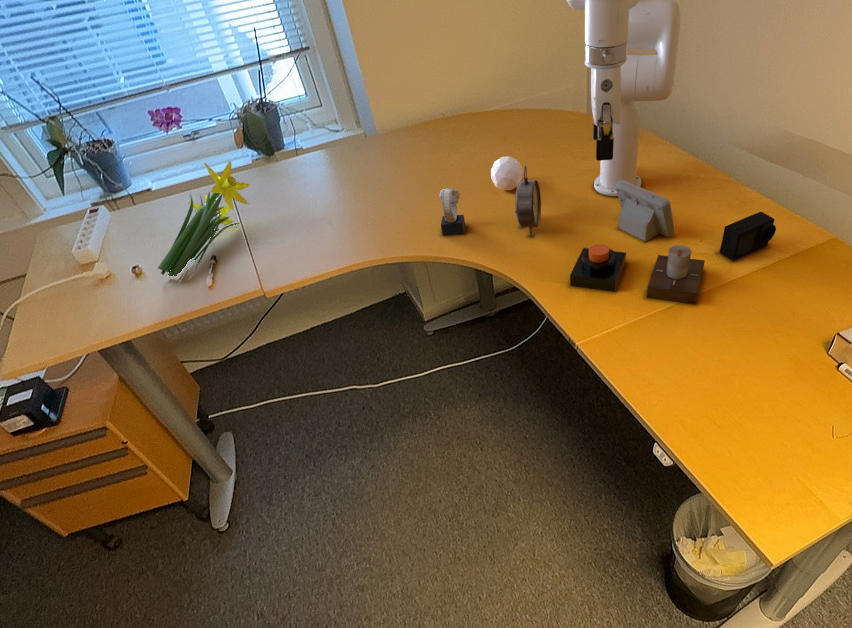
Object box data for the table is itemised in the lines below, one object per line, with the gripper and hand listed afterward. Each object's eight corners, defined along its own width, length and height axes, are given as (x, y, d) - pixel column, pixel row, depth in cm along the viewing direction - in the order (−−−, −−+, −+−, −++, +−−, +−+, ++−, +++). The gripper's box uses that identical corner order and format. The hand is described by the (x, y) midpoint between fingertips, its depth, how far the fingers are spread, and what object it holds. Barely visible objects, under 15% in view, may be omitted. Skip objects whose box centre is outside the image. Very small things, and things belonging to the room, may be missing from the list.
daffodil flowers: (144, 281, 149) (208, 184, 163) (202, 305, 153) (260, 208, 167) (130, 246, 134) (202, 143, 149) (194, 273, 138) (258, 170, 152)
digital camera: (736, 264, 128) (742, 236, 122) (718, 253, 131) (724, 225, 126) (771, 248, 130) (779, 220, 125) (753, 238, 134) (760, 210, 129)
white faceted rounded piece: (532, 184, 158) (518, 172, 167) (518, 154, 152) (505, 143, 161) (505, 201, 159) (493, 188, 168) (490, 172, 153) (479, 159, 162)
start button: (591, 250, 129) (591, 242, 127) (611, 253, 127) (611, 244, 126) (586, 261, 126) (586, 253, 125) (606, 264, 125) (606, 256, 123)
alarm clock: (536, 239, 143) (532, 176, 131) (515, 239, 144) (509, 177, 132) (542, 216, 150) (539, 155, 138) (522, 216, 151) (517, 155, 139)
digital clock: (678, 237, 137) (683, 196, 129) (646, 250, 135) (650, 208, 127) (637, 209, 147) (640, 169, 139) (607, 220, 145) (609, 180, 137)
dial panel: (656, 266, 130) (658, 254, 128) (702, 271, 127) (705, 259, 125) (646, 298, 123) (647, 285, 120) (694, 304, 120) (697, 292, 117)
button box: (583, 258, 135) (583, 239, 131) (625, 263, 132) (626, 244, 128) (570, 286, 128) (570, 267, 125) (614, 292, 125) (615, 273, 122)
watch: (466, 221, 152) (459, 181, 144) (463, 238, 146) (456, 197, 138) (445, 222, 152) (437, 183, 144) (441, 239, 147) (433, 199, 139)
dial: (668, 265, 125) (671, 242, 120) (689, 268, 123) (692, 244, 119) (664, 277, 122) (667, 254, 118) (685, 280, 121) (689, 256, 116)
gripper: (631, 66, 96) (625, 166, 109) (622, 37, 108) (618, 130, 121) (586, 70, 97) (585, 169, 110) (582, 41, 109) (582, 133, 121)
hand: (602, 148), depth 115 cm, fingers open, 9 cm apart
